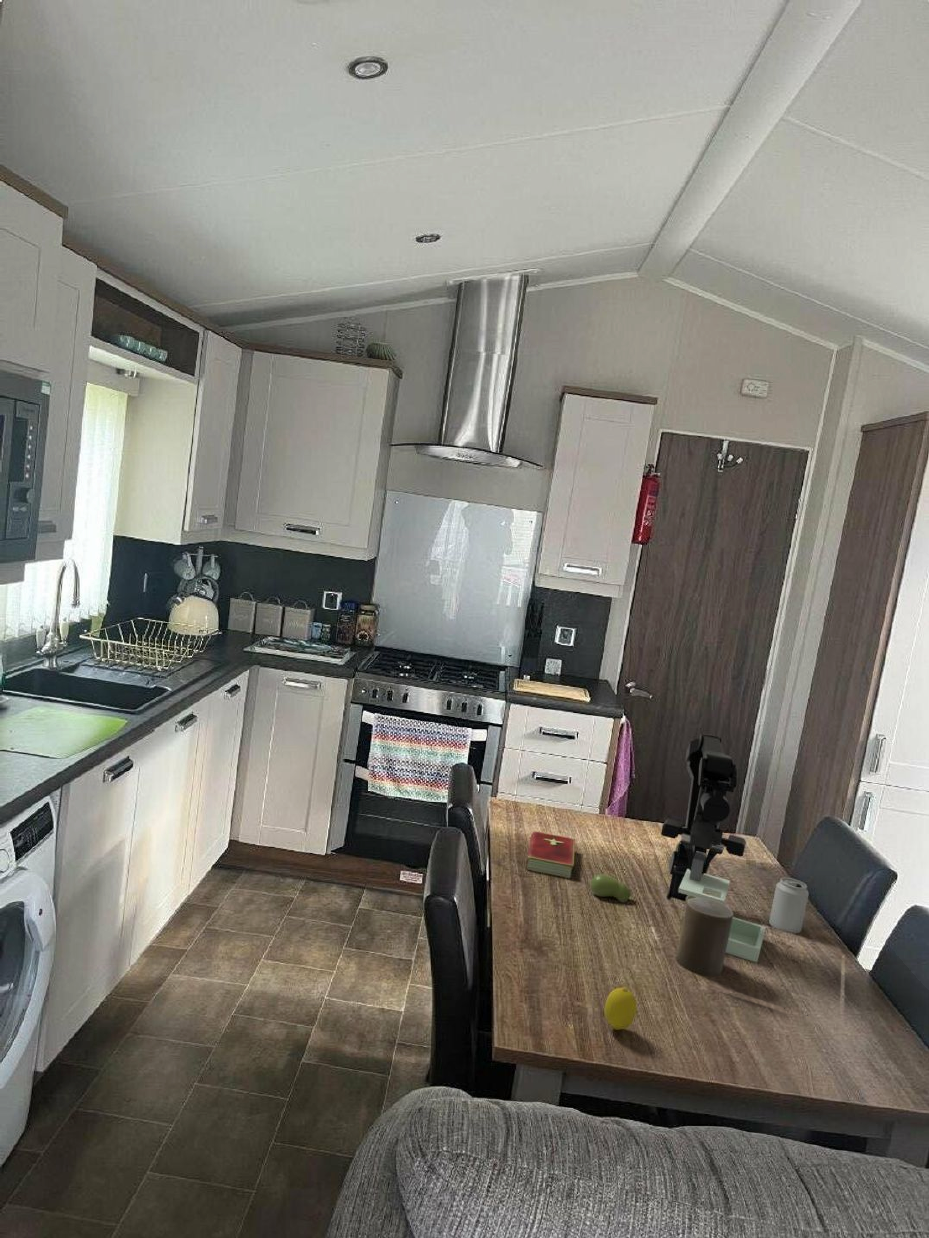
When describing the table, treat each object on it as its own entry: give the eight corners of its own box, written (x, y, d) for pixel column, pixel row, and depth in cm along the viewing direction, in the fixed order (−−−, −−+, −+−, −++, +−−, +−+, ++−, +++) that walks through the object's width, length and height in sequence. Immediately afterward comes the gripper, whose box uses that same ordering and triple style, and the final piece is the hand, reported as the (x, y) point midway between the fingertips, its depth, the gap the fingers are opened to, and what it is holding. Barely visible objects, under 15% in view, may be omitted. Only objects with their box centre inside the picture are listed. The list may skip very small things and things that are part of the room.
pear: (594, 867, 231) (632, 881, 231) (586, 887, 231) (625, 900, 231) (595, 876, 225) (635, 889, 225) (588, 896, 226) (627, 909, 226)
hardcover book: (524, 871, 238) (527, 855, 237) (529, 844, 258) (532, 829, 258) (571, 880, 236) (574, 864, 236) (572, 852, 257) (575, 837, 257)
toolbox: (709, 951, 206) (713, 934, 206) (718, 929, 219) (721, 913, 218) (756, 966, 202) (759, 949, 202) (762, 943, 215) (765, 926, 215)
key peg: (678, 935, 212) (685, 898, 211) (681, 931, 215) (688, 893, 214) (691, 939, 211) (699, 902, 210) (694, 935, 214) (701, 897, 213)
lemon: (598, 1019, 170) (605, 978, 169) (627, 1022, 170) (635, 981, 169) (605, 1036, 164) (613, 994, 163) (635, 1040, 165) (643, 997, 164)
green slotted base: (678, 892, 209) (683, 866, 208) (686, 872, 222) (691, 848, 221) (723, 905, 206) (728, 879, 205) (729, 884, 219) (734, 860, 218)
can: (802, 939, 221) (812, 891, 220) (770, 931, 223) (779, 883, 221) (797, 926, 229) (807, 880, 227) (766, 919, 230) (775, 873, 229)
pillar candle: (695, 982, 191) (710, 912, 189) (665, 958, 199) (678, 892, 197) (730, 978, 195) (745, 910, 194) (699, 955, 204) (713, 890, 202)
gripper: (663, 806, 212) (651, 871, 214) (747, 828, 205) (734, 895, 207) (671, 794, 222) (659, 857, 224) (751, 815, 216) (738, 879, 218)
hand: (696, 872), depth 218 cm, fingers closed on green slotted base, 2 cm apart
